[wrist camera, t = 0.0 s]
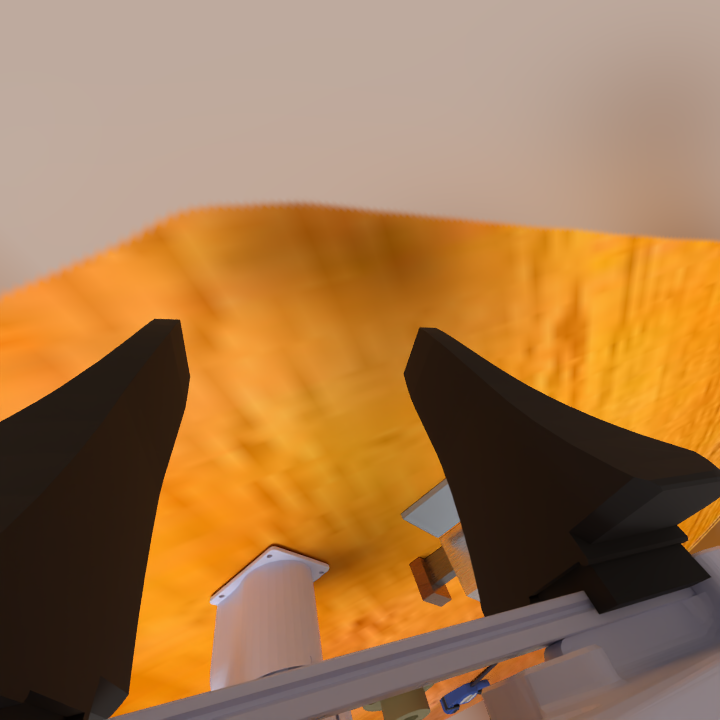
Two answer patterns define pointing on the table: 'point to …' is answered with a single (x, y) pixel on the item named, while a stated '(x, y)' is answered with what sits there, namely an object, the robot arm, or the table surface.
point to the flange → (403, 705)
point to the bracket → (460, 560)
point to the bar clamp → (464, 693)
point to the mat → (434, 511)
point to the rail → (433, 577)
